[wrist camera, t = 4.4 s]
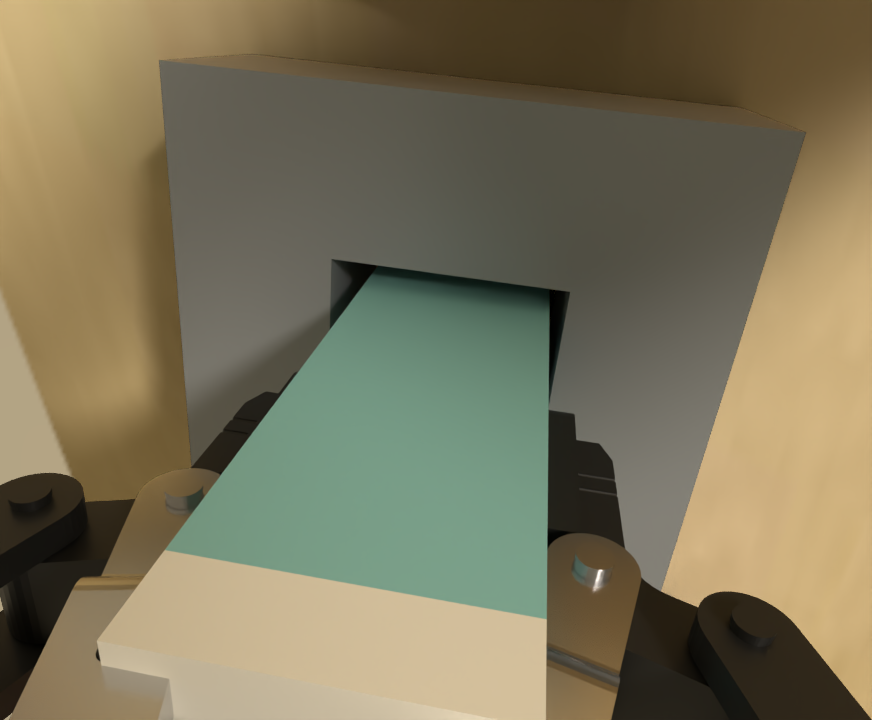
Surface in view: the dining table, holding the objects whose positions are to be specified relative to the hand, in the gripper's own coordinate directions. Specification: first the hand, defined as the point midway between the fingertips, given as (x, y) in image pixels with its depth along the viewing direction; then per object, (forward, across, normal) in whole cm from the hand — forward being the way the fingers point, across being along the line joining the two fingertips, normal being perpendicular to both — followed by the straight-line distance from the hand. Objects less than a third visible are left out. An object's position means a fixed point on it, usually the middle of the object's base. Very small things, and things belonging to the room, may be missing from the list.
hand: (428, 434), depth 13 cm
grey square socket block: (+7, 0, 0) cm, 7 cm away
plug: (+6, 0, 0) cm, 6 cm away
